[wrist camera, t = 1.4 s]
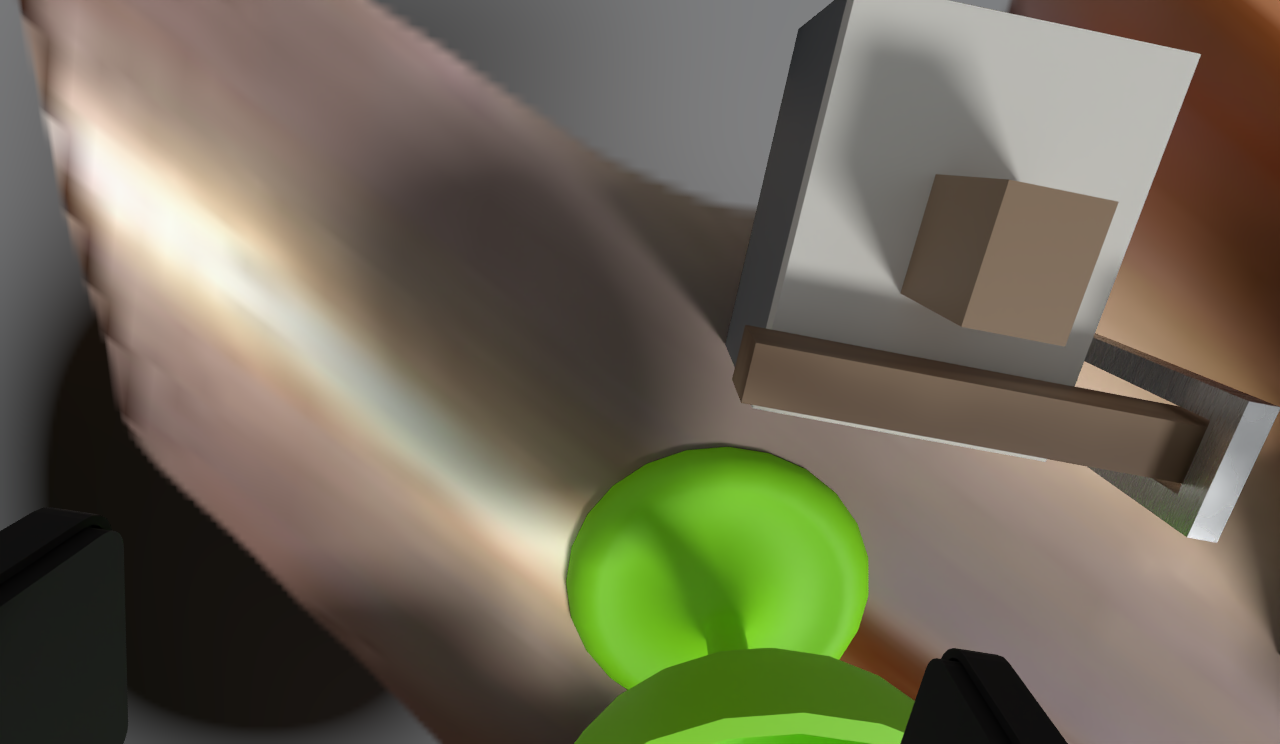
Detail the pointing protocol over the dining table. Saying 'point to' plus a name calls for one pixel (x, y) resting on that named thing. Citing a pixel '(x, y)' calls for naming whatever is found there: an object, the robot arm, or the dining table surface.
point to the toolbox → (1231, 412)
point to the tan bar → (966, 405)
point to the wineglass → (727, 607)
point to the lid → (973, 187)
